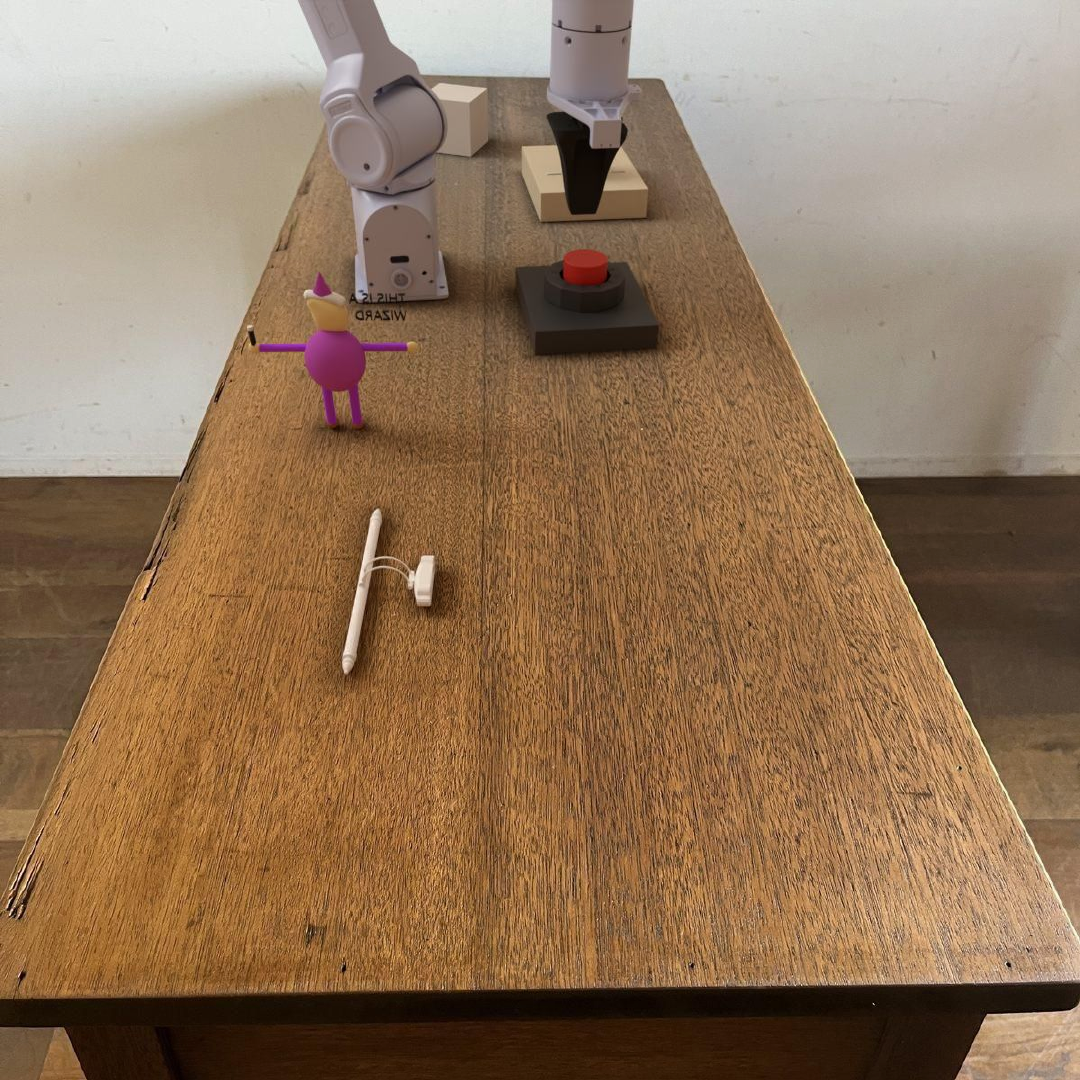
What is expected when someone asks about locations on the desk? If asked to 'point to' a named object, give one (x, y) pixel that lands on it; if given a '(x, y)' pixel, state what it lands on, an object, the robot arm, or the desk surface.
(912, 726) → the desk surface
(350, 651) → the picture light
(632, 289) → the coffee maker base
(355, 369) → the wizard figurine
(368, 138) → the robot arm
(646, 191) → the panel
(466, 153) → the beige cube
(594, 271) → the power button
